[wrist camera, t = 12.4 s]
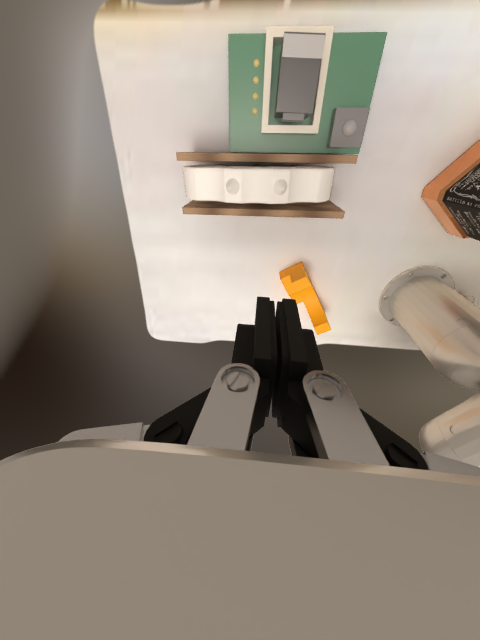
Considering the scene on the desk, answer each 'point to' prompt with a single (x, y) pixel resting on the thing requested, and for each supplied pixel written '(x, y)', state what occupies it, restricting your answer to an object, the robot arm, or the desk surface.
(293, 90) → the plug
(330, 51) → the board
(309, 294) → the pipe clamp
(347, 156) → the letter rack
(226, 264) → the desk surface
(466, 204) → the whiskey bottle
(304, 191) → the white curved piece
